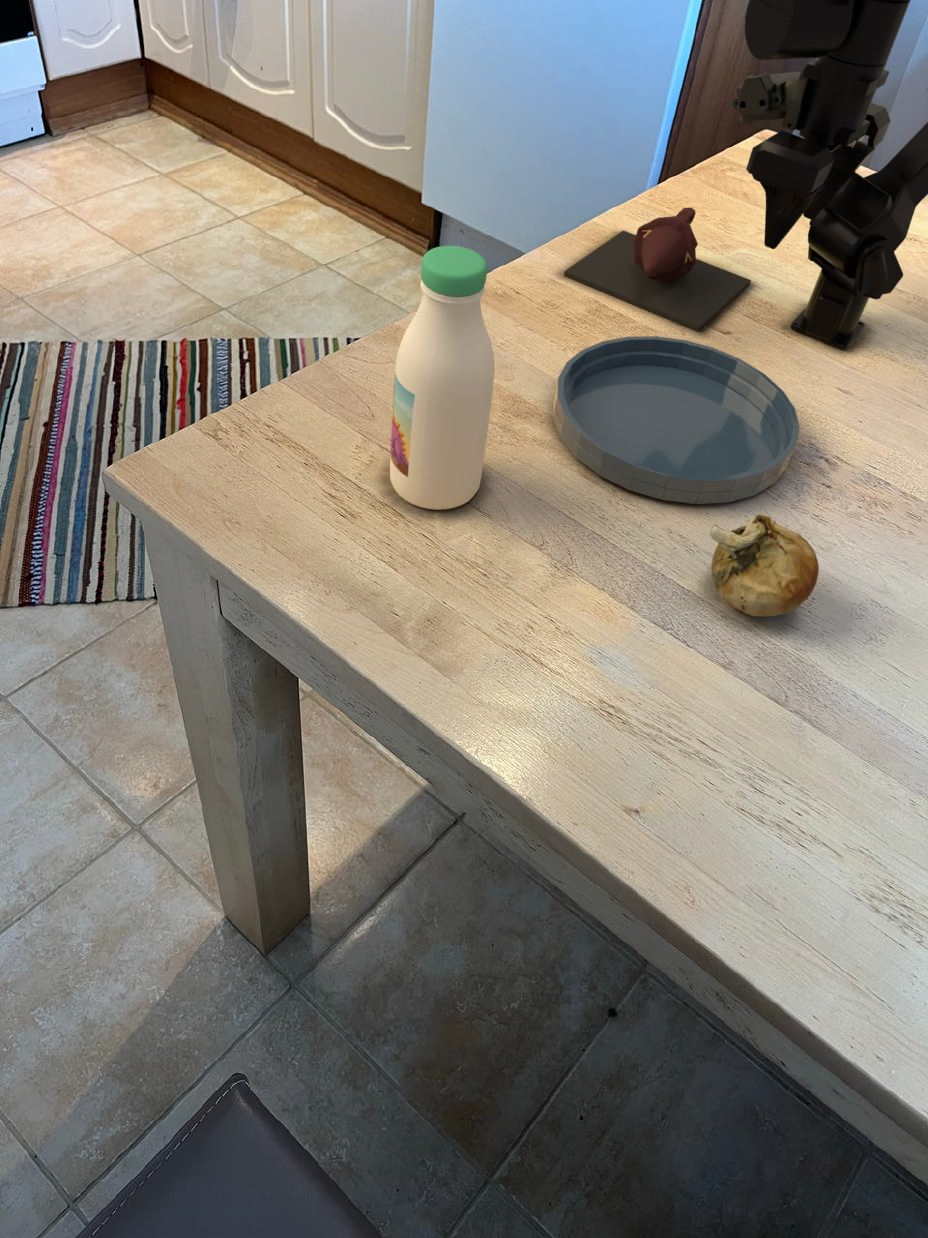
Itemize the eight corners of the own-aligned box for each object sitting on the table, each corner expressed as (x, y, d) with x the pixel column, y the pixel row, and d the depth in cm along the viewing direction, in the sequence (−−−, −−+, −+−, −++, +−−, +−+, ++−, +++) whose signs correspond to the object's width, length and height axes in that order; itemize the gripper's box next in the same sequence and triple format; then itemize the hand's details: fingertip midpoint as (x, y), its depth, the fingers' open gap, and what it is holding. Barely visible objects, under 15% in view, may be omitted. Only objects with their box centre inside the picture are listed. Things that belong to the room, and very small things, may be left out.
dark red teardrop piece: (694, 260, 97) (725, 218, 108) (633, 222, 98) (669, 184, 108) (660, 316, 102) (693, 271, 113) (602, 281, 103) (640, 238, 113)
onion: (757, 651, 71) (795, 575, 65) (679, 587, 75) (707, 510, 69) (818, 609, 74) (858, 534, 68) (740, 550, 78) (772, 474, 72)
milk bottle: (491, 469, 82) (523, 248, 68) (462, 523, 77) (490, 297, 63) (408, 444, 84) (422, 223, 69) (375, 496, 79) (382, 269, 64)
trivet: (622, 234, 115) (623, 229, 115) (749, 284, 110) (751, 279, 109) (563, 275, 107) (564, 270, 107) (698, 332, 101) (700, 326, 101)
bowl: (622, 337, 99) (628, 311, 97) (821, 424, 92) (833, 397, 90) (507, 434, 86) (511, 406, 84) (728, 543, 79) (739, 516, 76)
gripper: (809, 9, 89) (756, 177, 101) (720, 49, 78) (672, 232, 90) (923, 43, 85) (854, 214, 97) (846, 89, 74) (778, 276, 86)
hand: (789, 231), depth 92 cm, fingers open, 9 cm apart
